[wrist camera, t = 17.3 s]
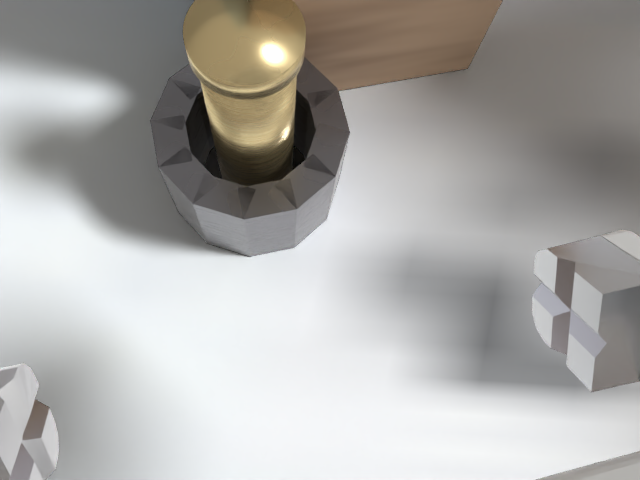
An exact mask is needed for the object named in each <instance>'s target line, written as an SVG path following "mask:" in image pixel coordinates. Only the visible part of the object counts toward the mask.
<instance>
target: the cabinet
mask: <svg viewBox="0 0 640 480" xmlns="http://www.w3.org/2000/svg"><path fill="white" fill-rule="evenodd" d="M293 1H294V3H295V4H296V5H297V7H298V8H299V10H300V11H301V13H302V16H303V18H304V21H305V26H306V42H305V54H304V57H305V58H306V59H307V60H308V61H309V62H310V63H311V64H312V65H313V66H315V67H316V68H317V69H318V70H319V71H320V72H321V73H322V74H323V75H324V76H325V77H326V78H327V79H328V80H329V81H330V82H331V83H332V84H333V85H335V86H336V87H337V88H338V91H341V90H346V89H352V88H358V87H364V86H370V85H375V84H381V83H387V82H393V81H399V80H404V79H410V78H416V77H422V76H428V75H433V74H439V73H445V72H451V71H457V70H462V69H468V67H469V65H470V63H471V61H472V59H473V57H474V55H475V53H476V52H477V50H478V48H479V46H480V44H481V42H482V40H483V38H484V36H485V34H486V32H487V30H488V28H489V26H490V24H491V22H492V20H493V18H494V17H495V15H496V13H497V11H498V9H499V7H500V5H501V3H502V1H503V0H293Z"/></svg>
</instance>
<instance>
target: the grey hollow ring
mask: <svg viewBox="0 0 640 480" xmlns="http://www.w3.org/2000/svg"><path fill="white" fill-rule="evenodd" d="M193 1H195V0H193ZM151 126H152V132H153V138H154V144H155V150H156V156H157V162H158V167H159V170H160V172H161V174H162V176H163V179H164V181H165V183H166V185H167V187H168V190H169V192H170V194H171V196H172V199H173V201H174V203H175V205H176V208H177V210H178V212H179V213H180V214H181V215H182V216H183V217H184V219H185V220H186V221H187V222H188V223H189V224H190V225H191V226H192V227H193V228H194V229H195V231H196V232H197V233H198V234H199V235H200V236H201V237H202V238H203V239H204V240H205V241H206V242H207V244H211V245H214V246H217V247H220V248H224V249H227V250H230V251H233V252H237V253H240V254H243V255H246V256H250V257H251V256H256V255H261V254H266V253H270V252H275V251H280V250H285V249H290V248H294V247H295V246H297V245H298V244H299V243H300V242H301V241H302V240H303V239H305V238H306V237H307V236H308V235H309V234H310V233H311V232H313V231H314V230H315V229H316V228H317V227H318V226H320V225H321V224H322V223H323V222H324V221H325V220H326V219H327V216H328V213H329V209H330V206H331V203H332V200H333V197H334V194H335V190H336V187H337V184H338V181H339V177H340V173H341V168H342V164H343V160H344V156H345V151H346V147H347V143H348V138H349V134H350V131H349V127H348V124H347V120H346V117H345V113H344V109H343V106H342V102H341V99H340V95H339V92H338V88H337V87H336V86H335V85H333V84H332V83H331V82H330V81H329V80H328V79H327V78H326V77H325V76H324V75H323V74H322V73H321V72H320V71H319V70H318V69H317V68H316V67H315V66H313V65H312V64H311V63H310V62H309V61H308V60H307V59H306V58H305V57H304V60H303V64H302V66H301V69H300V71H299V72H298V74H297V82H296V102H295V123H294V144H293V145H294V146H295V147H296V148H297V149H298V150H299V151H300V152H301V153H302V154H303V155H304V158H305V161H303V162H302V163H301V164H300V165H298V166H297V167H296V168H295V169H294V170H292V171H291V172H290V173H289V174H288V175H286V176H285V177H284V178H283V179H281V180H278V181H273V182H268V183H262V184H257V185H252V186H244V185H240V184H237V183H234V182H230V181H227V180H224V179H220V178H217V177H214V176H213V175H212V174H211V173H210V172H209V171H208V170H207V169H206V168H205V167H204V165H205V162H206V160H207V157H208V155H209V152H210V150H211V149H212V148H214V147H215V145H214V140H213V136H212V131H211V127H210V122H209V118H208V114H207V109H206V105H205V100H204V96H203V91H202V87H201V82H200V80H199V79H198V78H197V76H196V75H195V73H194V72H193V70H192V68H191V66H190V64H189V65H187V66H186V67H184V68H183V69H182V70H180V71H179V72H177V73H176V74H175V75H173V76H172V77H170V78H169V80H168V83H167V85H166V87H165V89H164V92H163V94H162V96H161V98H160V101H159V103H158V105H157V107H156V110H155V112H154V114H153V116H152V118H151Z"/></svg>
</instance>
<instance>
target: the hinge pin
mask: <svg viewBox="0 0 640 480" xmlns="http://www.w3.org/2000/svg"><path fill="white" fill-rule="evenodd" d="M183 40H184V44H185V48H186V52H187V56H188V60H189V64H190V66H191V68H192V70H193V72H194V73H195V75H196V76H197V78H198V79H199V80H200V82H201V87H202V91H203V96H204V100H205V105H206V109H207V114H208V118H209V122H210V127H211V131H212V136H213V140H214V145H215V149H216V154H217V158H218V163H219V167H220V172H221V176H222V179H224V180H227V181H230V182H234V183H237V184H240V185H244V186H252V185H257V184H262V183H268V182H273V181H278V180H281V179H283V178H284V177H285V176H286V175H288V174H289V173H290V172H291V171H292V164H293V144H294V123H295V102H296V82H297V74H298V72H299V71H300V69H301V66H302V64H303V60H304V54H305V42H306V26H305V21H304V18H303V16H302V13H301V11H300V10H299V8H298V7H297V5H296V4H295V3H294V1H293V0H195V1H194V3H193V4H192V5H191V7H190V8H189V10H188V12H187V14H186V17H185V19H184V24H183Z"/></svg>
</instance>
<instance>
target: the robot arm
mask: <svg viewBox="0 0 640 480" xmlns="http://www.w3.org/2000/svg"><path fill="white" fill-rule="evenodd" d="M533 273H534V275H535V276H536V277H537V278H538V279H539V280H540V282H541V284H540V285H539V287H538V288H537V290H536V291H535V293H534V294H533V296H532V315H533V318H534V322H535V325H536V329H537V330H538V332H539V334H540V336H541V338H542V339H543V340H544V342H545V343H546V344H547V345H548V346H549V347H550V348H551V349H553V350H556V351H558V352H561V353H563V354H566V355H567V364H566V366H567V367H568V368H569V369H570V370H571V371H572V372H573V373H574V374H575V375H576V376H577V377H578V379H579V380H580V381H581V382H582V383H583V384H584V385H585V386H586V387H587V388H588V389H589V390H590V391H591V392H594V391H599V390H603V389H608V388H612V387H616V386H621V385H625V384H630V383H634V382H638V381H640V236H638V235H637V234H635V233H633V232H632V231H628V230H618V231H614V232H610V233H606V234H603V235H599V236H595V237H592V238H588V239H584V240H580V241H576V242H572V243H568V244H564V245H560V246H556V247H551V248H547V249H543V250H539V251H538V252H537V254H536V257H535V259H534V272H533ZM38 388H39V383H38V381H37V379H36V377H35V374H34V372H33V370H32V368H31V367H29V366H28V365H26V364H24V363H22V364H17V365H12V366H7V367H2V368H0V480H46V479H47V478H48V477H49V476H50V475H51V474H52V473H53V472H54V471H55V470H56V465H57V460H58V456H59V439H58V431H57V427H56V423H55V419H54V417H53V414H52V412H51V410H50V407H48V406H46V405H44V404H43V403H41V402H39V401H37V400H36V399H35V398H36V394H37V391H38ZM536 480H640V451H638V452H634V453H631V454H627V455H624V456H620V457H616V458H613V459H609V460H605V461H602V462H598V463H594V464H591V465H587V466H583V467H580V468H576V469H572V470H569V471H565V472H562V473H558V474H554V475H551V476H547V477H543V478H540V479H536Z"/></svg>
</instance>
